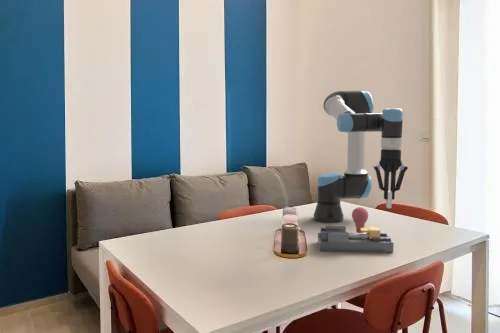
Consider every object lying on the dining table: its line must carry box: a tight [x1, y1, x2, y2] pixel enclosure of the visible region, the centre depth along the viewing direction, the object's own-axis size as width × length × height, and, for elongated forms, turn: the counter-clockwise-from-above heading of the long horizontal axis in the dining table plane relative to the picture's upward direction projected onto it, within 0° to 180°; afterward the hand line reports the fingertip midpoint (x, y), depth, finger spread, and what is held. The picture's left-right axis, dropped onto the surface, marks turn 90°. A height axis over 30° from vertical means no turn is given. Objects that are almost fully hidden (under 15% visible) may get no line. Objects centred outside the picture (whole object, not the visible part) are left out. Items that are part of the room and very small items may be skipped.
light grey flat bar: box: [348, 232, 369, 238], centre depth 168 cm, size 18×3×1 cm, turn 85°
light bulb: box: [351, 206, 369, 233], centre depth 186 cm, size 7×7×12 cm
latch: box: [360, 226, 381, 239], centre depth 167 cm, size 7×5×4 cm
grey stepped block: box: [317, 225, 394, 253], centre depth 168 cm, size 28×12×7 cm, turn 85°
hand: (388, 207), depth 165 cm, fingers closed
